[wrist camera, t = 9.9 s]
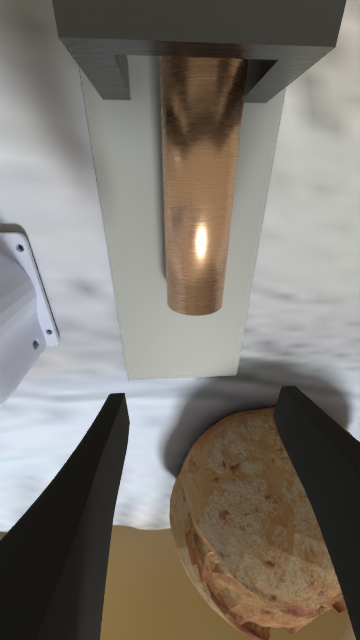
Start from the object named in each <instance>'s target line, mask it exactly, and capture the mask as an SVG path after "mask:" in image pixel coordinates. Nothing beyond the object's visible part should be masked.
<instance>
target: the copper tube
mask: <svg viewBox="0 0 360 640" xmlns="http://www.w3.org/2000/svg"><path fill="white" fill-rule="evenodd" d="M248 60H249V59H234V58H203V57H171V56H160V88H161V121H162V153H163V186H164V219H165V251H166V284H167V305H168V307H169V308H170V309H171V310H173V311H175V312H177V313H180V314H184V315H191V316H202V315H208V314H212V313H215V312H217V311H218V310H220V309H221V307H222V303H223V294H224V284H225V275H226V266H227V256H228V247H229V237H230V228H231V219H232V209H233V200H234V191H235V181H236V172H237V163H238V153H239V144H240V134H241V125H242V116H243V106H244V97H245V88H246V78H247V69H248Z"/></svg>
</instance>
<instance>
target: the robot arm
mask: <svg viewBox="0 0 360 640" xmlns="http://www.w3.org/2000/svg"><path fill="white" fill-rule="evenodd" d="M19 244H20V245H22V246H23V248H24V251H23V250H21V249H20V248H19ZM48 330H51V331H52V332H50V331H48ZM59 342H60V338H59V335H58V332H57V329H56V326H55V323H54V320H53V317H52V314H51V311H50V308H49V305H48V302H47V299H46V295H45V292H44V289H43V286H42V283H41V280H40V277H39V274H38V271H37V268H36V265H35V262H34V259H33V256H32V253H31V249H30V246H29V243H28V240H27V238H26V236H25V235H24V234H22V233H19V232H0V405H2V404H3V403H4V402H5V401H6V400H7V399H8V398H9V397H10V396H11V395H12V393H13V392H14V391H15V389H16V388H17V387H18V385H19V384H20V382H21V381H22V380H23V378H24V377H25V376H26V374H27V373H28V371H29V370H30V369H31V367H32V366H33V365H34V363H35V362H36V361H37V359H38V358H39V356H40V355H41V354H42V352H43V351H44V350H45V348H46V347H47V346H56V345H58V343H59ZM273 418H274V421H275V424H276V427H277V430H278V433H279V436H280V439H281V441H282V443H283V445H284V447H285V449H286V452H287V454H288V456H289V458H290V460H291V462H292V464H293V467H294V469H295V471H296V473H297V475H298V477H299V479H300V481H301V484H302V486H303V488H304V490H305V492H306V494H307V497H308V499H309V501H310V504H311V506H312V509H313V511H314V514H315V517H316V519H317V522H318V525H319V527H320V530H321V533H322V536H323V538H324V541H325V544H326V547H327V550H328V553H329V555H330V558H331V561H332V564H333V567H334V570H335V573H336V576H337V579H338V582H339V585H340V588H341V591H342V594H343V598H344V601H345V604H346V607H347V611H348V614H349V617H350V620H351V624H352V627H353V630H354V634H355V637H356V640H360V442H359V441H358V440H356V439H355V438H354V437H353V436H352V435H350V434H349V433H348V432H347V431H346V430H344V429H343V428H342V427H341V426H340V425H338V424H337V423H336V422H335V421H334V420H333V419H331V418H330V417H329V416H328V415H327V414H326V413H325V412H324V411H322V410H321V409H320V408H319V407H318V406H317V405H316V404H315V403H313V402H312V401H311V400H310V399H309V398H308V397H307V396H306V395H305V394H303V393H302V392H301V391H300V390H299V389H298V388H297V387H295V386H283V387H282V388H281V391H280V394H279V397H278V400H277V404H276V407H275V410H274V413H273ZM129 424H130V421H129V415H128V410H127V404H126V398H125V393H113V394H110V395H109V396H108V398H107V400H106V401H105V403H104V405H103V407H102V409H101V410H100V412H99V414H98V415H97V417H96V419H95V420H94V422H93V423H92V425H91V427H90V428H89V430H88V431H87V433H86V434H85V436H84V437H83V439H82V440H81V442H80V443H79V445H78V446H77V448H76V449H75V450H74V452H73V453H72V455H71V456H70V457H69V459H68V460H67V462H66V463H65V464H64V466H63V467H62V468H61V470H60V471H59V472H58V474H57V475H56V476H55V478H54V479H53V480H52V481H51V483H50V484H49V485H48V486H47V488H46V489H45V490H44V491H43V492H42V494H41V495H40V496H39V497H38V498H37V500H36V501H35V502H34V503H33V504H32V505H31V507H30V508H29V509H28V510H27V511H26V512H25V514H24V515H23V516H22V517H21V518H20V519H19V520H18V522H17V523H16V524H15V525H14V526H13V527H12V528H11V529H10V530H9V532H8V533H7V534H6V535H5V536H4V537H3V538H2V539H1V540H0V640H100V632H101V622H102V612H103V603H104V593H105V583H106V574H107V565H108V557H109V548H110V540H111V532H112V524H113V517H114V511H115V505H116V500H117V495H118V490H119V485H120V480H121V475H122V470H123V465H124V460H125V455H126V450H127V444H128V435H129Z"/></svg>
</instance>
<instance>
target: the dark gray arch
mask: <svg viewBox="0 0 360 640" xmlns="http://www.w3.org/2000/svg"><path fill="white" fill-rule="evenodd" d="M52 2H53V7H54V13H55V19H56V24H57V30H58V35H59V38H60V40H61V41H62V42H63V44H64V45H65V47H66V48H67V49H68V51H69V52H70V54H71V55H72V57H73V58H74V59H75V61H76V62H77V64H78V65H79V67H80V68H81V69H82V71H83V72H84V74H85V75H86V76H87V78H88V79H89V81H90V82H91V84H92V85H93V86H94V88H95V89H96V91H97V92H98V93H99V95H100V96H101V98H102V99H103V100H131V94H130V82H129V69H128V60H127V56H126V55H140V56H171V57H203V58H234V59H249V60H248V69H247V78H246V88H245V97H244V103H267V102H268V101H269V100H271V99H272V98H273V97H274V96H276V95H277V94H278V93H279V92H280V91H282V90H283V89H284V88H285V87H287V86H288V85H289V84H290V83H292V82H293V81H294V80H295V79H297V78H298V77H299V76H300V75H301V74H303V73H304V72H305V71H306V70H308V69H309V68H310V67H311V66H313V65H314V64H315V63H316V62H318V61H319V60H320V59H321V58H322V57H324V56H325V55H326V54H327V53H329V52H330V51H331V50H332V49H334V48H335V46H336V42H337V38H338V34H339V30H340V25H341V21H342V17H343V13H344V8H345V4H346V0H52Z"/></svg>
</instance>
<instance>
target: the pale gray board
mask: <svg viewBox="0 0 360 640" xmlns="http://www.w3.org/2000/svg"><path fill="white" fill-rule="evenodd" d="M126 56H127V60H128V69H129V82H130V94H131V100H103V99H102V98H101V96H100V95H99V93H98V92H97V91H96V89H95V88H94V86H93V85H92V84H91V82H90V81H89V79H88V78H87V76H86V75H85V74H84V72H83V71H82V69H81V68H80V67H79V71H80V77H81V83H82V90H83V96H84V103H85V109H86V115H87V122H88V128H89V134H90V141H91V147H92V153H93V160H94V166H95V172H96V179H97V185H98V192H99V198H100V204H101V211H102V217H103V223H104V230H105V236H106V242H107V249H108V255H109V262H110V268H111V274H112V281H113V287H114V293H115V300H116V306H117V312H118V319H119V325H120V331H121V338H122V344H123V351H124V357H125V363H126V370H127V376H128V380H144V379H167V378H190V377H213V376H235V375H237V370H238V364H239V358H240V352H241V346H242V340H243V335H244V329H245V323H246V317H247V311H248V306H249V300H250V294H251V288H252V282H253V277H254V271H255V265H256V259H257V253H258V248H259V242H260V236H261V230H262V224H263V219H264V213H265V207H266V201H267V195H268V190H269V184H270V178H271V172H272V166H273V161H274V155H275V149H276V143H277V137H278V132H279V126H280V120H281V114H282V108H283V103H284V97H285V91H286V87H285V88H284V89H283V90H282V91H280V92H279V93H278V94H277V95H276V96H274V97H273V98H272V99H271V100H269V101H268V102H267V103H244V106H243V116H242V125H241V134H240V144H239V153H238V163H237V172H236V181H235V191H234V200H233V209H232V219H231V228H230V237H229V247H228V256H227V266H226V275H225V284H224V294H223V303H222V307H221V309H220V310H218V311H217V312H215V313H212V314H208V315H202V316H191V315H184V314H180V313H177V312H175V311H173V310H171V309H170V308H169V307H168V305H167V284H166V251H165V219H164V186H163V153H162V121H161V88H160V56H140V55H126Z"/></svg>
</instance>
